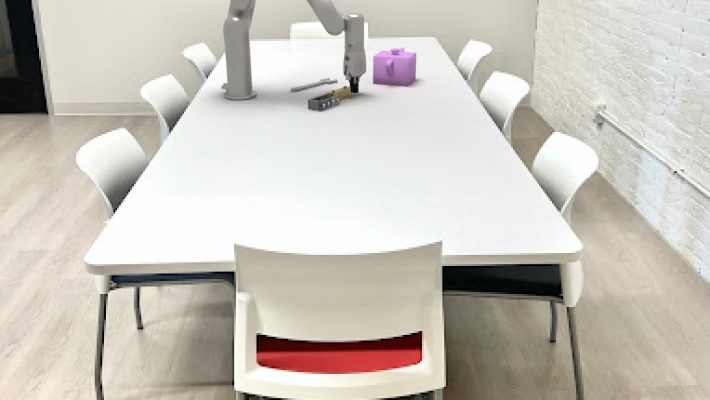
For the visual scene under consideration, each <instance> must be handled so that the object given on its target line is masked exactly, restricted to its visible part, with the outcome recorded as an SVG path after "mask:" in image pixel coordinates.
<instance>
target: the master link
mask: <svg viewBox="0 0 710 400" xmlns="http://www.w3.org/2000/svg"><path fill="white" fill-rule="evenodd" d="M327 93H328V98H330V97H333V96H335V95H339V99H340V101H341V102H343V101H342V100H344V101H346V100H345V99H347V100H349V99H351V97H352V96H351V95H352V93H351V87H350V86H347V85H344V86H342V87H340V88H336V89H332V90H331V91H329V92H327ZM348 98H349V99H348Z"/></svg>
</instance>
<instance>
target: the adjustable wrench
mask: <svg viewBox="0 0 710 400" xmlns="http://www.w3.org/2000/svg"><path fill="white" fill-rule="evenodd" d="M333 83H336V84H338V79H337V78H334V79H331V78H330V77H328V78H327V77H325V78H321V79H319V81H316V82H312V83H308V84H304V85H300V86H296V87H292V88H290V93H298V92H302V91H305V90H308V89H309V88H310V89H313V87H314V88H317V87H320V85H321V86H325V85H324V84H328V85H334V84H333ZM316 86H317V87H316ZM310 89H309V90H310Z"/></svg>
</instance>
